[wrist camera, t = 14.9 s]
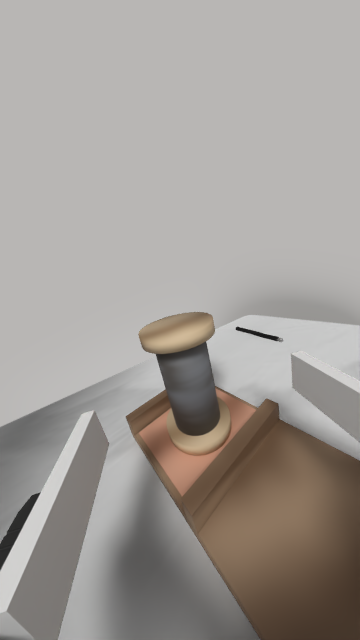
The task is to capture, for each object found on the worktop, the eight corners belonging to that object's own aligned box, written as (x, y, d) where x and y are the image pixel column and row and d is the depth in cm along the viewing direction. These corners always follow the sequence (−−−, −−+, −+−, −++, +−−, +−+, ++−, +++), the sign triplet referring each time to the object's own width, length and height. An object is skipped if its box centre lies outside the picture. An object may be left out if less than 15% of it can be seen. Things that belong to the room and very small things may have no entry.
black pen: (283, 341, 35) (283, 337, 35) (280, 343, 35) (280, 339, 34) (238, 329, 46) (238, 326, 46) (235, 330, 45) (235, 327, 45)
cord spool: (157, 426, 20) (127, 332, 17) (199, 392, 24) (181, 310, 21) (198, 473, 15) (164, 347, 12) (244, 420, 19) (229, 314, 16)
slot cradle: (133, 435, 21) (125, 416, 21) (201, 383, 28) (198, 367, 27) (567, 1129, 4) (645, 1196, 3) (475, 534, 10) (490, 500, 9)
